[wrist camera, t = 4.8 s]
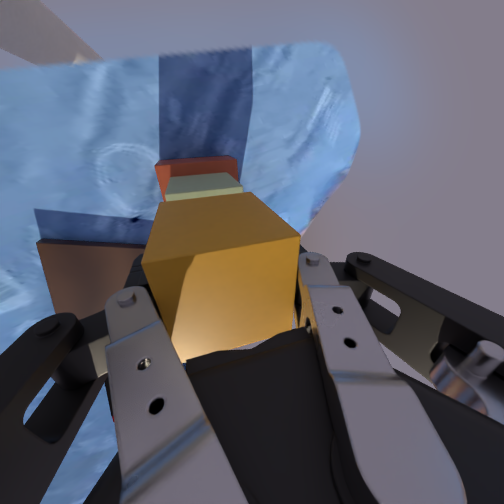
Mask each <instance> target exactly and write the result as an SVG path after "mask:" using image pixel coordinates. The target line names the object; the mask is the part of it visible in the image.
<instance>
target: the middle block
mask: <svg viewBox="0 0 504 504" xmlns="http://www.w3.org/2000/svg"><path fill="white" fill-rule="evenodd" d="M235 193H243V186H242V185H241V184H240V183H239V182H237V181H236V180H235V179H234V178H233V177H232V176H231V175H230V174H228V173H227V172H223V173H211V174H200V175H189V176H177V177H170V180H169V183H168V186H167V189H166V192H165V198H166V201H175V200H183V199H192V198H201V197H209V196H218V195H227V194H235Z"/></svg>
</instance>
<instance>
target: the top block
mask: <svg viewBox="0 0 504 504" xmlns="http://www.w3.org/2000/svg"><path fill="white" fill-rule="evenodd" d="M300 238H301V236H300V234H299V233H298V232H297V231H296V230H295V229H293V228H292V227H291V226H290V225H289V224H288V223H286V222H285V221H284V220H283V219H282V218H281V217H279V216H278V215H277V214H276V213H275V212H274V211H272V210H271V209H270V208H269V207H268V206H267V205H266V204H264V203H263V202H262V201H261V200H260V199H259V198H257V197H256V196H255V195H254V194H253V193H252V192H244V193H235V194H227V195H218V196H209V197H201V198H192V199H183V200H175V201H166V202H160V203H159V206H158V209H157V213H156V216H155V219H154V222H153V226H152V229H151V232H150V235H149V238H148V242H147V245H146V248H145V251H144V255H143V258H142V261H141V265H142V268H143V270H144V273H145V275H146V278H147V281H148V283H149V286H150V288H151V291H152V294H153V296H154V299H155V301H156V304H157V307H158V309H159V312H160V314H161V317H162V320H163V322H164V325H165V327H166V330H167V333H168V335H169V337H170V339H171V341H172V343H173V346H174V348H175V350H176V352H177V354H178V356H179V358H180V361H181V363H185V362H186V360H187V359H191V358H194V357H198V356H201V355H205V354H208V353H212V352H215V351H223V350H230V349H233V348H237V347H240V346H244V345H247V344H251V343H254V342H257V341H261V340H264V339H267V338H271V337H273V336H275V335H276V334H278V333H282V332H285V331H289V330H292V321H293V310H294V300H295V289H296V279H297V269H298V258H299V248H300Z"/></svg>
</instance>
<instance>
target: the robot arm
mask: <svg viewBox="0 0 504 504" xmlns="http://www.w3.org/2000/svg"><path fill="white" fill-rule="evenodd" d="M143 255H144V254H140V255H139V256H138V257H137V258H136V259H135V260H134V261H133V264H132V268H131V269H130V273H129V275H128V277H127V280H126V283H125V285H124V288H123V289H122V290H120V291H118V292H116V293H115V294H113V295H112V296H111V297H110V298H109V299H108V300H107V301H106V303H105V309H104V310H102V311H100V312H98V313H95V314H93V315H90V316H88V317H85V318H83V319H80V320H78V318H77V317H76V315H75V314H73V313H70V312H64V313H58V314H55V315H52V316H49V317H47V318H45V319H43V320H41V321H39V322H37V323H36V324H34V325H33V326H31V327H30V328H29V329H28V330H26V331H25V332H24V333H23V334H22V335H21V336H20V337H19V338H18V339H17V340H16V341H15V342H14V343H13V344H12V345H10V346H9V347H8V348H7V349H6V350H5V351H4V352H3V353H2V354H1V355H0V504H40V502H41V500H42V498H43V496H44V495H45V493H46V491H47V489H48V487H49V485H50V483H51V481H52V479H53V478H54V476H55V474H56V472H57V470H58V468H59V466H60V464H61V463H62V461H63V459H64V457H65V455H66V453H67V451H68V449H69V448H70V446H71V444H72V442H73V440H74V438H75V436H76V434H77V433H78V431H79V429H80V427H81V425H82V423H83V421H84V419H85V418H86V416H87V414H88V412H89V410H90V408H91V406H92V404H93V403H94V401H95V399H96V397H97V395H98V393H99V391H100V389H101V388H102V386H103V384H104V382H105V380H106V378H107V376H108V378H109V386H110V393H111V401H112V408H113V416H114V423H115V431H116V438H117V445H118V452H117V453H116V455H115V456H114V458H113V459H112V461H111V462H110V464H109V465H108V467H107V468H106V470H105V471H104V473H103V474H102V476H101V477H100V479H99V480H98V482H97V483H96V485H95V486H94V488H93V489H92V491H91V492H90V494H89V495H88V497H87V498H86V500H85V501H84V503H83V504H504V317H503V316H501V315H499V314H497V313H494V312H492V311H490V310H488V309H486V308H484V307H482V306H480V305H477V304H475V303H473V302H471V301H469V300H467V299H465V298H462V297H460V296H458V295H456V294H454V293H452V292H450V291H448V290H445V289H443V288H441V287H439V286H437V285H435V284H433V283H430V282H429V281H426V280H424V279H422V278H420V277H418V276H416V275H414V274H412V273H409V272H407V271H405V270H403V269H401V268H399V267H397V266H394V265H392V264H390V263H388V262H386V261H384V260H382V259H379V258H378V257H375V256H373V255H371V254H368V253H363V252H353V253H350V254H348V255H347V258H346V262H329V261H328V259H327V258H326V257H325V256H324V255H322V254H319V253H314V252H307V251H306V250H305V249H304V248H303V247H302V246H301V245H300V248H299V258H298V269H297V279H296V289H295V300H294V318H295V324H296V329H292V330H289V331H285V332H282V333H278V334H276V335H275V336H273V337H271V338H270V339H268V340H266V341H265V342H263V343H261V344H259V345H258V346H256V347H254V348H252V349H244V350H223V351H215V352H212V353H208V354H205V355H201V356H198V357H194V358H191V359H187V360H186V371H185V369H184V367H183V365H182V363H181V361H180V358H179V356H178V354H177V352H176V350H175V348H174V346H173V343H172V341H171V339H170V337H169V335H168V333H167V331H166V328H165V325H164V322H163V320H162V317H161V314H160V312H159V309H158V307H157V304H156V301H155V299H154V296H153V294H152V291H151V288H150V286H149V283H148V281H147V278H146V275H145V273H144V270H143V268H142V265H141V261H142V258H143ZM373 289H375V290H377V291H378V292H380V293H382V294H383V295H385V296H387V297H388V298H390V299H392V300H393V301H395V302H396V303H397V304H398V305H399V307H400V309H401V314H400V316H399V317H398V316H396V315H395V314H393V313H391V312H390V311H388V310H387V309H385V308H384V307H382V306H381V305H379V304H377V303H376V302H374V301H373V300H371V299H370V297H371V294H372V292H373ZM379 342H381V343H382V344H383V345H384V346H385V347H387V348H388V349H389V350H391V351H392V352H393V353H394V354H396V355H397V356H398V357H399V358H401V359H402V360H403V361H404V362H406V363H407V364H408V365H410V366H411V367H412V368H413V369H415V370H416V371H417V372H419V373H420V374H421V375H422V376H424V377H425V378H426V379H427V380H429V381H430V382H431V383H432V384H433V385H434V386H435V388H436V390H435V389H433V388H431V387H429V386H428V385H426V384H423V383H422V382H420V381H418V380H416V379H414V378H412V377H410V376H408V375H406V374H404V373H402V372H400V371H398V370H396V369H394V368H392V366H391V364H390V362H389V360H388V359H387V357H386V355H385V353H384V351H383V349H382V347H381V345H380V343H379ZM50 377H51V378H52V379H53V380H54V381H55V383H54V385H53V386H52V388H51V389H50V390H49V392H48V393H47V395H46V396H45V397H44V399H43V400H42V401H41V403H40V404H39V406H38V407H37V408H36V410H35V411H34V412H33V414H32V415H31V417H30V418H29V419H28V421H27V422H26V423H25V425H23V417H24V414H25V411H26V409H27V407H28V406H29V404H30V403H31V402H32V400H33V399H34V398H35V396H36V395H37V394H38V392H39V391H40V390H41V389H42V387H43V386H44V385H45V383H46V382H47V381H48V379H49V378H50Z"/></svg>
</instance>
